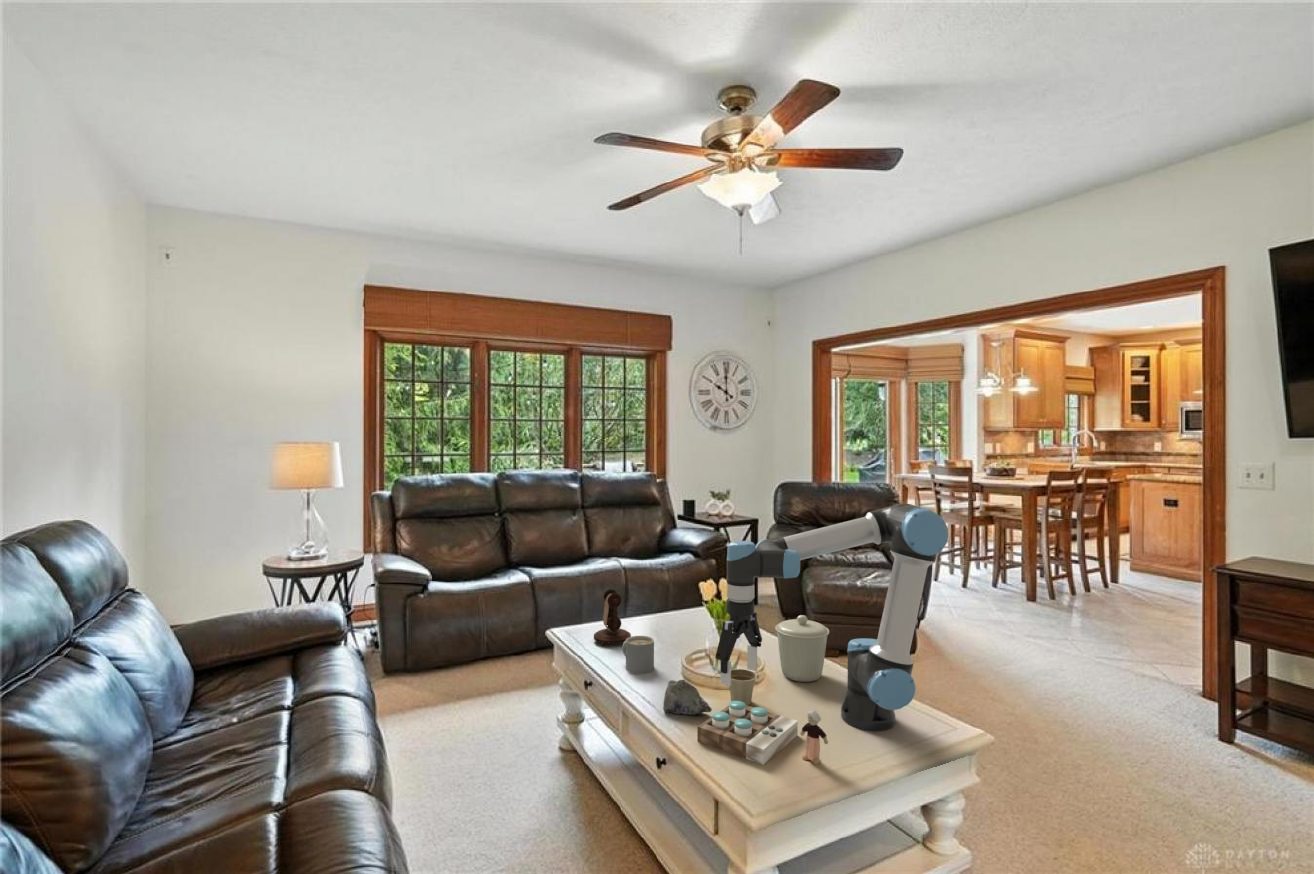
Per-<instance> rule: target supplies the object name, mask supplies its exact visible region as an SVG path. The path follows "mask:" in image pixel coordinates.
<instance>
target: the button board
mask: <svg viewBox="0 0 1314 874" xmlns="http://www.w3.org/2000/svg"><path fill="white" fill-rule="evenodd" d="M752 708H755V707H754V706H751V705H746V709H745V716H744V717H742V718H738V717H735V716H732V715H729V727H728V728H727V729H726V730H722V729H719V728H716V727H713V726H712V716H711V717H710V718H708V719H706V720H705V721H703V722H702V723H701V724H699V725H698V726H697V730H696V731H697V739H696V740H697V742H699V743H702V744H704V745H707V746H710V747H712V748H715V749H718V750H721V751H724V752H726V753H728V754H731V755H735V756H738V757H740V758H743V759H746V760H749V761H751V762H753V763H757V764H760V765H761V766H764V765H765V764H766V763H768V762H770V760H771V759H772V758H773V757H774V756H776V755H777V754H778V753H779V752H780V751H782V749H784V748H785V747H786V746H787V745H788V744H790V742H791V741H793V740H794V739H795V738H796V737H798V736H799V735H798V731H799V730H798V723H799V721H798V720H796V719H793V718H789V717H786V716H783V715H780V714H778V713H777V714H776V713H773V712H769V711H768V723H766V724H765V725H764V726H763V725H760V724H757V723H754V722H752V735H751V736H750V737H748V738H745V737H742V736H739V735H736V734H734V731H735V720H737V719H747V720H750V721H751V709H752ZM719 712H725V713H728V714H729V705H728V706H726V707H725V708H724V709H721V710H719Z"/></svg>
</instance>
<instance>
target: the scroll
mask: <svg viewBox="0 0 1314 874" xmlns="http://www.w3.org/2000/svg"><path fill="white" fill-rule="evenodd" d="M603 600H604V607H603V614H602V615H603V617H602V618H603V619H602V620H603V624H604V626H605V628H602V629H600V630H598V631H597V632H595V633H594V634H593V640H594V641H596V642H597V643H600V644H601V646H602V647H605V645H606V644H607V645H608V644H609V645H610V644H611V645H612V644H614V645H615V644H622V643H624V642H625V641H626V639H627V638H629V637H632V635H631V632H629V631H628V630H626V629H623V628H621V626H622V620H621V618H620V617H619V616H618V615H619V612H618V607H619V606H620V605H621V604H622V597H621V595H620V594H619V593H618V592H617V591H616V590H615V589H613V588H612V589H611V588H609V589H607V590H606V591H605V592H604V594H603Z"/></svg>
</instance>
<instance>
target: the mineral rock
mask: <svg viewBox="0 0 1314 874" xmlns="http://www.w3.org/2000/svg"><path fill="white" fill-rule="evenodd" d="M662 709H663V712H664V713H674V714H677V715H678V714H679V715H680V714H682V715H691V716H695V715H697V714H699V715H700V714H703V713H711V712H712V710H713V708H712V707H711V706H710V705H709V703H708V702H707V701H706V700H705V699H704V698H703V697H702V696H701V695H700V692H699V690H698V689H697V688H696V687H695V686H694V685H692V684H691V683H690V682H688V681H686V680H685V679H679V680H678V681H677V680H674V679H673V680H672V679H671V680H669V681H668V684H667V686H666V688H665V692H664V698H663V707H662Z"/></svg>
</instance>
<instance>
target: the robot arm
mask: <svg viewBox="0 0 1314 874" xmlns="http://www.w3.org/2000/svg"><path fill="white" fill-rule="evenodd" d="M948 539H949V529H948V525H947V524H946V522H945V520H944V518H942V516H940V514H938V513H937V512H935V511H933V510H931V509H929V508H926V507H922V506H918V505H914V504H910V503H898V504H893V505H890V506H886V507H882V508H879V509H876V510H872V511H868V512H867V513H866V514H865V516H863V517H859V518H855V519H851V520H847V521H843V522H838V523H835V524H831V525H828V526H823V527H819V528H816V529H811V530H806V531H804V532H799V533H796V534H792V535H787V536H784V537H783V536H782V537H780V538H776V539H768V538H767V539H766V538H765V539H761V540H760V541H758V542H757V543H756V544H755V543H754V541H753V542H752V541H749V540H734V541H730V542H729V543H728V544H727V550H726V551H727V554H726V600H725V601H726V603H725V604H726V605H725V606H726V607H725V609H726V613H727V614H728V615H729V621H727V620H723V621H722V626H721V627H722V628H721V633H720V637H719V641H718V644H717V649H716V653H715V657H714V659H716V660H718V661H720V670H719V671H720V684H721V685H724V686H728V687H729V686H730V685H731V670H732V660H731V659H730V658H731V655H732V653H733V651H734V649H735V645H736V643H737V640H738V639H740V637H741V635H742V634H744V636H745V638H746V640H747V642H748V644H749V645H747V647H746V649H747V651H746V652H747V655H746V656H747V660H746V661H747V664H746V666H747V667H746V668H747V669H746V670H749V671H752V672H757V671H758V647H759V648H761V647H762V642H763V637H762V634H761V630H760V627H759V622H758V617H757V615H758V614H757V612H756V611H755V601H754V599H755V583H756V582H755V579H756V578H758V579H759V578H765V579H766V578H767V579H768V578H770V579H771V578H776V579H792V578H794V579H795V578H797V577H798V576H799V574H800V572H801V561H803V560H806V559H810V558H815V557H818V556H823V555H826V554H831V553H834V552H838V551H842V550H847V549H850V548H855V547H859V546H862V545H863V546H864V545H868V544H871V543H874V544H876V545H881V544H887V543H891V545H890V550H889V552H890V553H891V555H892V556H893V558H894V559H893V564H892V568H891V573H890V578H889V583H888V589H887V591H886V597H885V601H884V606H883V612H882V616H881V619H880V620H881V621H880V625H879V629H878V634H877V635H878V636H877V638H876V639H875V638H862V637H861V638H853V639H851V640H850V641H849V640H848V641H849V642H848V643H847V650H846V653H847V690H846V693H845V696H844V699H843V702H842V704H841V708H840V717H841V719H842V720H843V721H844V722H845V723H847V724H849V725H851V726H853V727H855V728H858V729H863V730H868V731H886V730H890V729H892V728H893V727H895V725H896V712H895V711H898V710H901V709H902V708H905V707H906V706H908V705H909V704H910V703H911V702H912V701H913V699H914V697H915V695H916V683H915V681H914V678H913V677H912V673H913V667H914V664H915V663H914V658H913V657H912V655H911V653H910V652H911V646H912V643H913V642H912V641H913V638H914V635H915V634H914V633H915V627H916V623H917V618H918V615H919V610H920V606H921V605H920V604H921V600H922V595H923V591H924V586H925V582H926V577H927V572H928V568H929V567H930V566H931V565H933V564H935V563H936V560H937V555H938V553H940V552H941V551H942V550H944V548H946V545H947V543H948Z"/></svg>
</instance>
